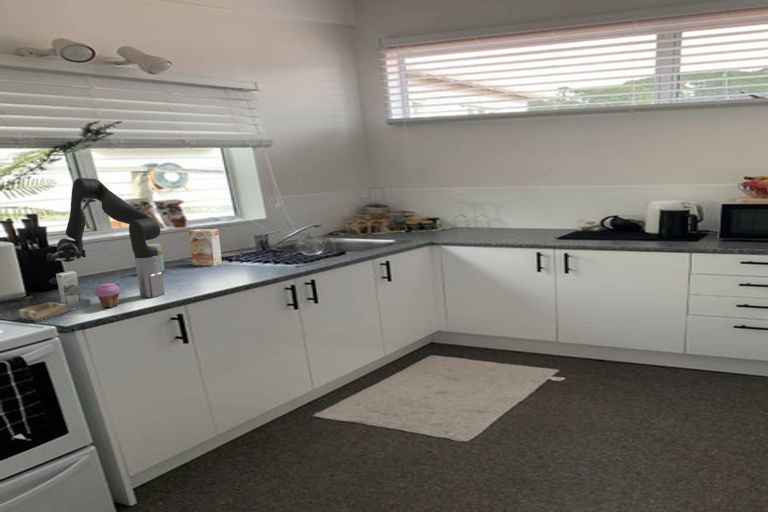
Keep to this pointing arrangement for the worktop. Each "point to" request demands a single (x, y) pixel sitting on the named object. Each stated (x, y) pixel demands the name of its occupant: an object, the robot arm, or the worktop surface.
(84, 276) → the worktop surface
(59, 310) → the tray
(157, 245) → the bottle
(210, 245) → the coffeecake box
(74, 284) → the syrup box
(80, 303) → the blue-grey shallow square dish
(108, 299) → the cupcake
